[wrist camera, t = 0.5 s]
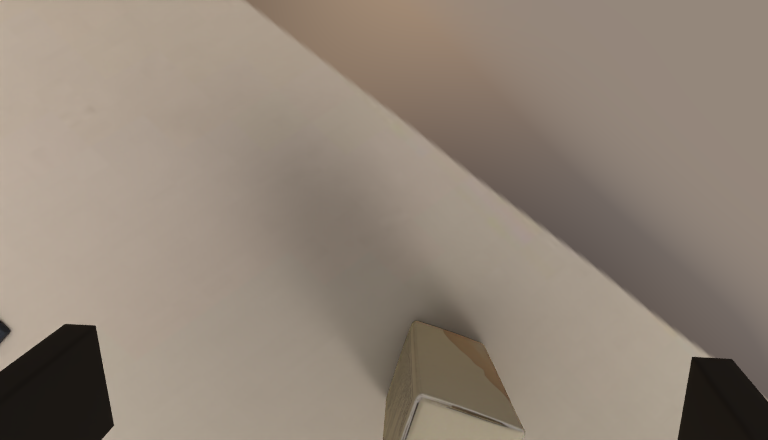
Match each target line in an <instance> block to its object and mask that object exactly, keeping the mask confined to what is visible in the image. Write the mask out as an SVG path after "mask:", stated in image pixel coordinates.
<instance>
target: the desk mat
mask: <svg viewBox="0 0 768 440" xmlns="http://www.w3.org/2000/svg"><path fill="white" fill-rule="evenodd" d="M9 333H10V330H9V329H8V328H7V327H6V326H5V325H4V324H2V323H1V322H0V343H1V342H2V341H3V339H4V338H5V337H6V336H7V335H8V334H9Z"/></svg>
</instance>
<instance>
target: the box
mask: <svg viewBox="0 0 768 440" xmlns="http://www.w3.org/2000/svg"><path fill="white" fill-rule="evenodd" d="M524 435H525V431H524V429H523V427H522V425H521V423H520V420H519V418H518V416H517V414H516V412H515V410H514V408H513V406H512V404H511V401H510V399H509V397H508V395H507V393H506V391H505V389H504V386H503V384H502V382H501V380H500V378H499V376H498V374H497V371H496V369H495V367H494V365H493V363H492V361H491V359H490V357H489V355H488V353H487V350H486V348H485V346H484V345H483V344H482V343H480V342H477V341H474V340H472V339H469V338H466V337H464V336H461V335H458V334H455V333H453V332H450V331H447V330H444V329H441V328H438V327H435V326H432V325H429V324H426V323H422V322H419V321H414V322H413V323H412V325H411V327H410V330H409V332H408V335H407V338H406V340H405V343H404V346H403V349H402V352H401V354H400V357H399V361H398V364H397V367H396V370H395V373H394V376H393V379H392V382H391V385H390V389H389V392H388V395H387V398H386V409H385V421H384V432H383V440H523V438H524Z"/></svg>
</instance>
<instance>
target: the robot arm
mask: <svg viewBox="0 0 768 440" xmlns="http://www.w3.org/2000/svg"><path fill="white" fill-rule="evenodd" d="M113 426H114V423H113V418H112V412H111V407H110V401H109V396H108V391H107V385H106V380H105V374H104V369H103V363H102V358H101V353H100V347H99V342H98V336H97V331H96V326H93V325H74V324H64V325H63V326H62V327H60V328H59V329H58V330H56V331H55V332H54V333H52V334H51V335H49V336H48V337H47V338H45V339H44V340H43V341H41V342H40V343H39V344H37V345H36V346H34V347H33V348H32V349H30V350H29V351H28V352H26V353H25V354H24V355H22V356H21V357H19V358H18V359H17V360H15V361H14V362H13V363H11V364H10V365H9V366H7V367H6V368H5V369H3V370H2V371H0V440H102V438H103V437H104V436H105V435H106V434H107V433H108V432H109V431H110V429H111V428H112V427H113ZM678 440H768V401H767V400H766V399H765V398H764V397H763V395H762V394H761V393H760V392H759V391H758V390H757V388H756V387H755V386H754V385H753V384H752V382H751V381H750V380H749V379H748V378H747V376H746V375H745V374H744V373H743V372H742V371H741V369H740V368H739V367H738V366H737V365H736V363H735V362H734V361H733V360H732V359H720V358H719V359H718V358H701V357H692V360H691V366H690V372H689V378H688V383H687V389H686V395H685V401H684V406H683V412H682V418H681V424H680V429H679V435H678Z"/></svg>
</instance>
